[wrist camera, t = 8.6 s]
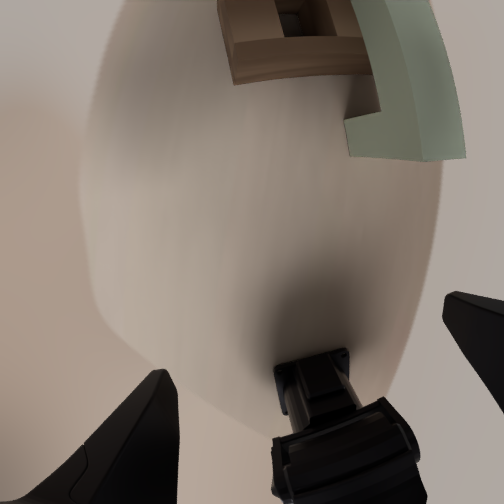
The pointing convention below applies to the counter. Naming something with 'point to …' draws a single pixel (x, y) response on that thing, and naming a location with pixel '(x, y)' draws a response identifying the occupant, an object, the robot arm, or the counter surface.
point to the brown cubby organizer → (291, 39)
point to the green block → (407, 86)
